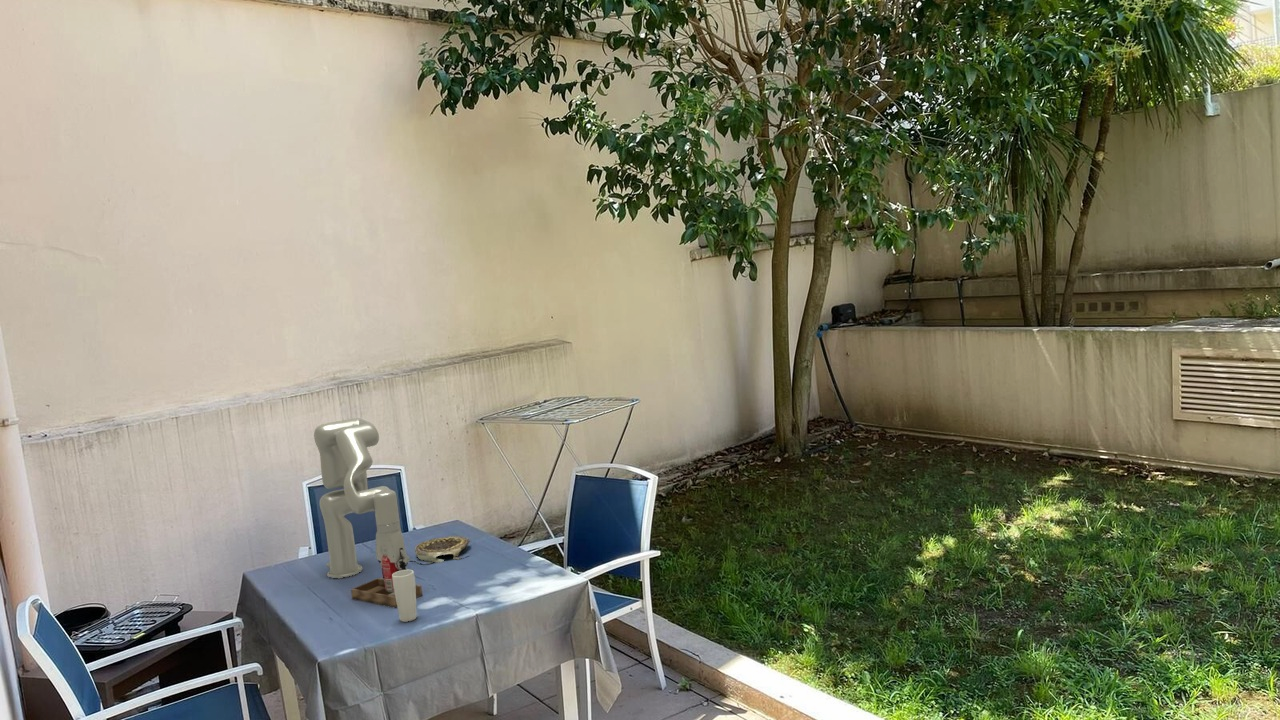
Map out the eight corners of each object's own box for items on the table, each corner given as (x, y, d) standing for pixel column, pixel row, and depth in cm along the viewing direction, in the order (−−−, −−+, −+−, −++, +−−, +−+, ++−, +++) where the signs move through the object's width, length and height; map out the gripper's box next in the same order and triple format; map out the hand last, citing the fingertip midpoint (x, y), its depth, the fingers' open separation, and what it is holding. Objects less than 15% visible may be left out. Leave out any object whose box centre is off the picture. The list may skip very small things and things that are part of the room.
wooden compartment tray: (352, 599, 294) (350, 589, 293) (379, 587, 303) (378, 578, 303) (395, 607, 281) (394, 597, 281) (422, 595, 291) (421, 585, 290)
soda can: (401, 593, 285) (396, 555, 283) (381, 593, 286) (376, 555, 285) (411, 585, 292) (406, 548, 290) (391, 585, 293) (387, 548, 292)
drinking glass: (399, 616, 273) (394, 570, 272) (421, 613, 273) (415, 568, 272) (395, 624, 266) (389, 577, 265) (417, 622, 267) (411, 575, 265)
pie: (395, 557, 339) (394, 545, 339) (456, 539, 357) (454, 528, 357) (430, 570, 318) (429, 557, 318) (492, 551, 337) (491, 538, 336)
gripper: (362, 528, 289) (369, 579, 290) (397, 532, 279) (403, 585, 281) (380, 522, 295) (386, 572, 296) (414, 526, 285) (421, 578, 287)
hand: (394, 578), depth 288 cm, fingers closed on soda can, 7 cm apart
